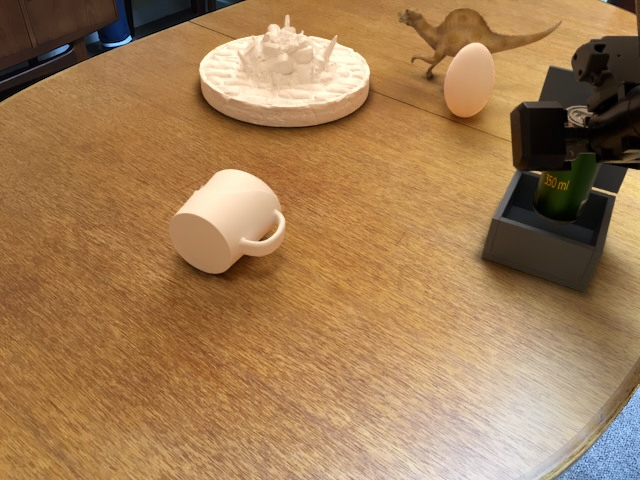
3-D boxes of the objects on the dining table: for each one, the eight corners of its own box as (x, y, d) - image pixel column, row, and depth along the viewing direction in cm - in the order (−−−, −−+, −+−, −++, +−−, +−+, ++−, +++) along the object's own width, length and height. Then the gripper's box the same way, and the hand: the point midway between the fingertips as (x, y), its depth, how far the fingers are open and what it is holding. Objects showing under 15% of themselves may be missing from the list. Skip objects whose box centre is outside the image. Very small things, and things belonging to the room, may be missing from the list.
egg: (433, 120, 93) (446, 47, 86) (444, 100, 99) (458, 30, 91) (480, 131, 91) (498, 57, 84) (489, 110, 97) (507, 39, 89)
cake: (182, 120, 90) (174, 60, 84) (220, 47, 112) (216, -6, 105) (366, 134, 89) (372, 74, 83) (369, 57, 111) (374, 5, 104)
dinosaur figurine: (391, 66, 108) (400, -10, 100) (541, 89, 103) (565, 11, 95) (383, 84, 102) (392, 5, 94) (541, 109, 97) (566, 28, 89)
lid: (661, 91, 63) (661, 89, 63) (549, 66, 66) (550, 64, 67) (617, 194, 69) (617, 192, 69) (517, 165, 73) (518, 163, 73)
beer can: (583, 207, 69) (620, 113, 61) (575, 232, 65) (614, 135, 57) (536, 193, 70) (566, 100, 63) (525, 217, 67) (556, 121, 59)
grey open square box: (584, 292, 65) (602, 253, 62) (480, 257, 69) (492, 218, 65) (599, 234, 73) (616, 196, 69) (506, 205, 77) (517, 167, 73)
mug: (167, 258, 67) (157, 201, 62) (213, 213, 74) (207, 158, 68) (260, 293, 63) (257, 236, 58) (300, 242, 70) (301, 187, 65)
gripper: (758, 19, 50) (644, 83, 66) (545, 17, 49) (479, 84, 64) (771, 148, 49) (652, 183, 65) (554, 150, 48) (485, 185, 63)
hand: (568, 156), depth 64 cm, fingers closed on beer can, 5 cm apart
